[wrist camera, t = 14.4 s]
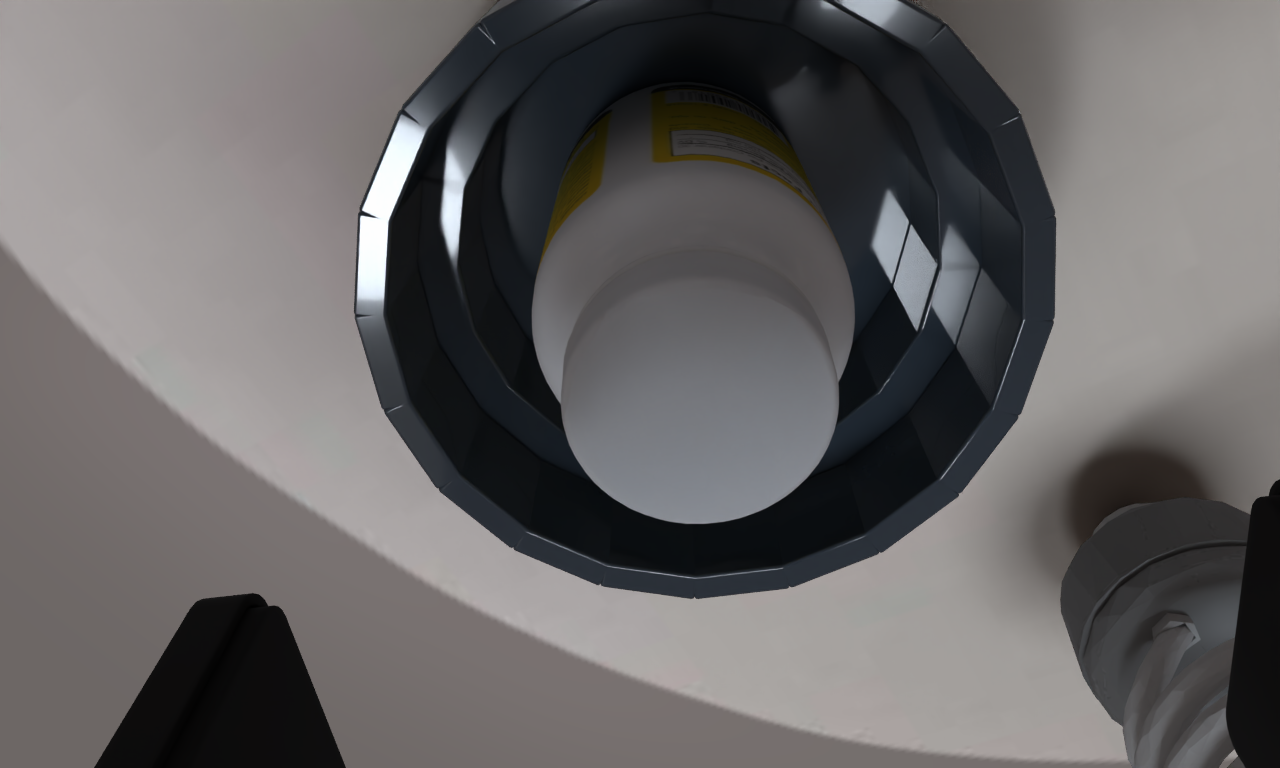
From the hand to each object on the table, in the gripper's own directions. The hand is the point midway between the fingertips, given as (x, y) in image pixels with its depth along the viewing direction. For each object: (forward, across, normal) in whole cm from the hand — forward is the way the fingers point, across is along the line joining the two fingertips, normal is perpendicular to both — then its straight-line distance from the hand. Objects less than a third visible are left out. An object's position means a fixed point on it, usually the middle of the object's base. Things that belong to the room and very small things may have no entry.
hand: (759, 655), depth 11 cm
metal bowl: (+16, 0, +1) cm, 16 cm away
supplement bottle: (+15, +1, 0) cm, 15 cm away
